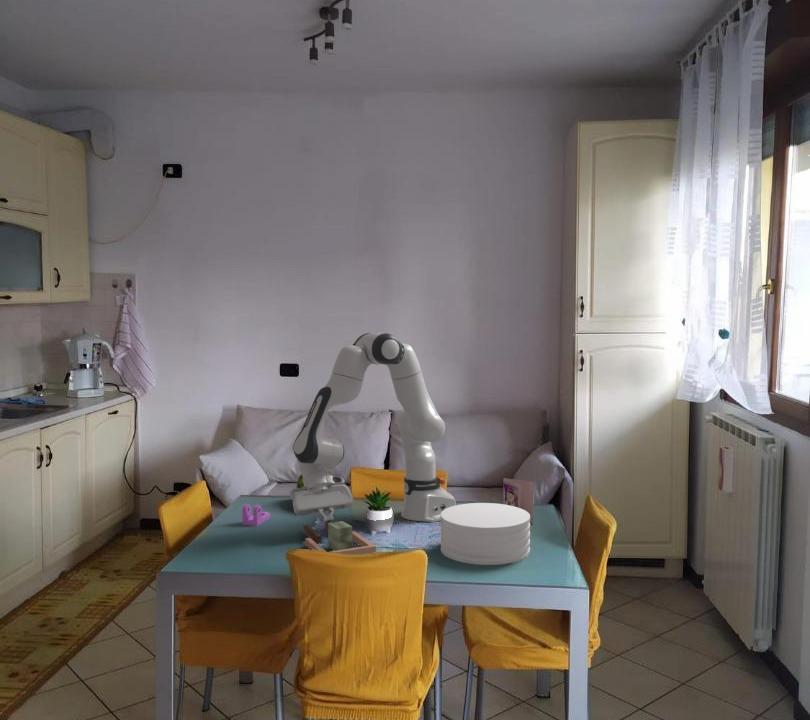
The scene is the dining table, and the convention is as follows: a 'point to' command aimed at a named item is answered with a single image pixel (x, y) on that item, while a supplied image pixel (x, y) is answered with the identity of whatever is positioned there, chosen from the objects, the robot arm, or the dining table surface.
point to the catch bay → (365, 548)
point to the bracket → (254, 515)
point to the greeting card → (519, 495)
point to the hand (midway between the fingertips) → (328, 521)
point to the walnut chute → (313, 533)
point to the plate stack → (485, 533)
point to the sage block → (339, 536)
